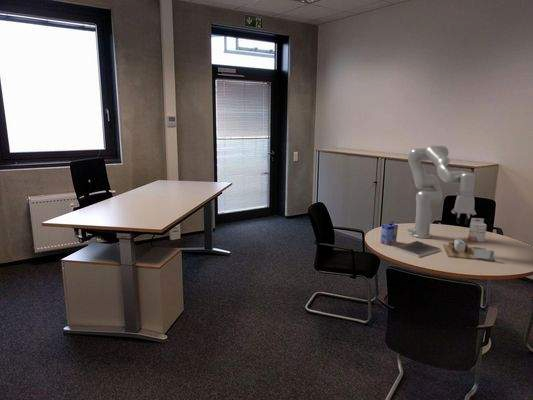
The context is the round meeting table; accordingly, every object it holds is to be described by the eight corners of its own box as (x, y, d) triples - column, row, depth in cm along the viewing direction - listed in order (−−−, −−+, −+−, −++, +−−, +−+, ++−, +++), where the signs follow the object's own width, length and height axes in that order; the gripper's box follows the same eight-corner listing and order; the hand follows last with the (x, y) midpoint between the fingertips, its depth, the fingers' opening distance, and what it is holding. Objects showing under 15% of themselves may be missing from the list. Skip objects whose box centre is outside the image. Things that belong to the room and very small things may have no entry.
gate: (474, 258, 223) (475, 250, 222) (473, 257, 225) (474, 249, 224) (492, 260, 221) (493, 251, 220) (491, 259, 223) (493, 250, 222)
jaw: (456, 251, 235) (457, 242, 234) (453, 247, 241) (454, 238, 240) (464, 252, 234) (465, 242, 233) (461, 248, 240) (462, 239, 239)
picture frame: (416, 244, 252) (394, 250, 240) (417, 240, 251) (395, 246, 240) (440, 251, 239) (418, 258, 227) (440, 247, 238) (418, 254, 226)
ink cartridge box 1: (386, 245, 248) (388, 223, 245) (379, 242, 252) (381, 221, 249) (396, 242, 253) (398, 221, 250) (390, 240, 257) (391, 219, 254)
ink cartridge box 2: (471, 241, 257) (473, 219, 254) (468, 239, 262) (470, 217, 259) (484, 241, 256) (487, 220, 253) (481, 239, 261) (484, 218, 258)
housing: (448, 256, 228) (448, 249, 227) (442, 245, 248) (443, 238, 247) (494, 261, 221) (495, 253, 220) (484, 249, 242) (485, 242, 241)
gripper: (451, 194, 229) (448, 224, 233) (482, 196, 225) (478, 226, 228) (449, 192, 236) (446, 221, 240) (479, 193, 232) (476, 223, 235)
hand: (462, 223), depth 234 cm, fingers open, 3 cm apart
